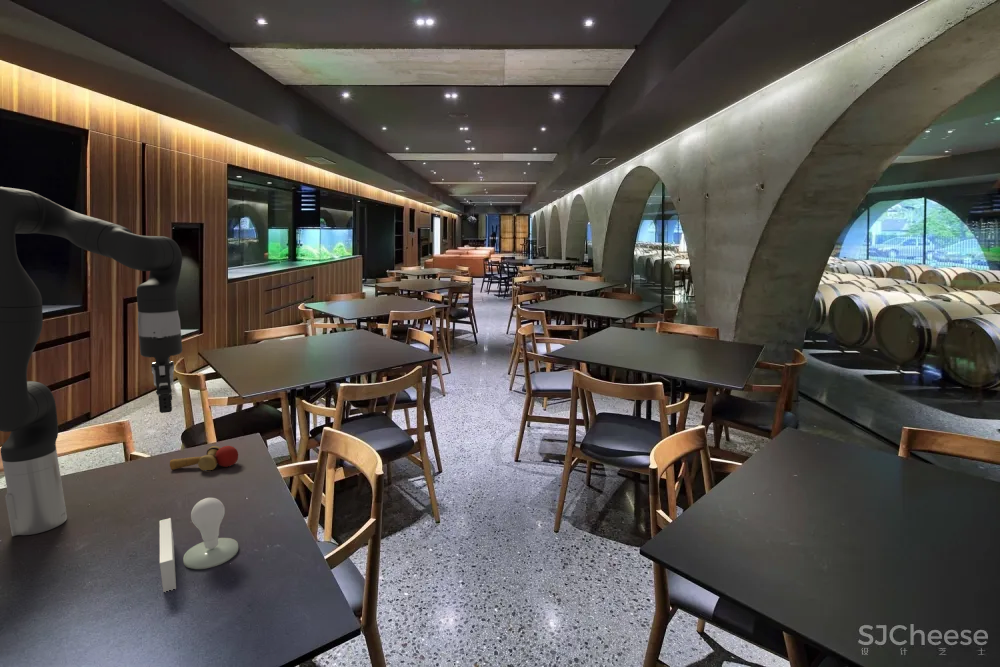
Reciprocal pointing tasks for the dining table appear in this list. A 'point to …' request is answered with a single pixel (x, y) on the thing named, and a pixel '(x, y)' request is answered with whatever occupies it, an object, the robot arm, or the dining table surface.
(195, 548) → the pad
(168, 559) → the wall
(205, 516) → the lightbulb
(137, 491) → the dining table surface
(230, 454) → the kendama
